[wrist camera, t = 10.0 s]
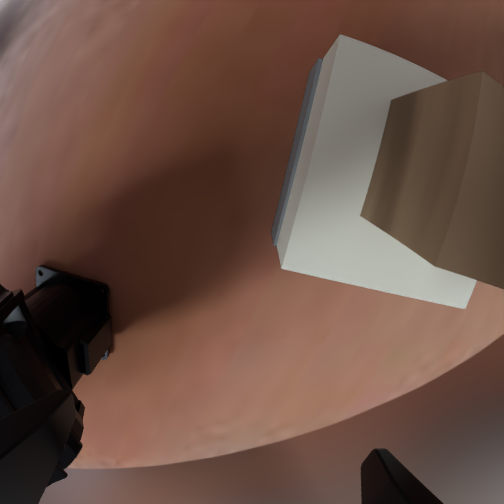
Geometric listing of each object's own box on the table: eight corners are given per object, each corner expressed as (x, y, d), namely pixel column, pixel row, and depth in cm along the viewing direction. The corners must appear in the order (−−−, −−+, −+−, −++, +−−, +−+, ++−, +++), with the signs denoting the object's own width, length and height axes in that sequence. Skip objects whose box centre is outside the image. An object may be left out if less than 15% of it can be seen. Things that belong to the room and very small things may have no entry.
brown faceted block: (359, 215, 12) (434, 266, 6) (391, 99, 11) (482, 70, 5) (451, 247, 12) (537, 301, 7) (480, 145, 11) (577, 155, 5)
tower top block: (276, 245, 16) (281, 268, 13) (323, 58, 13) (340, 34, 10) (435, 283, 17) (464, 309, 13) (478, 126, 14) (516, 124, 10)
